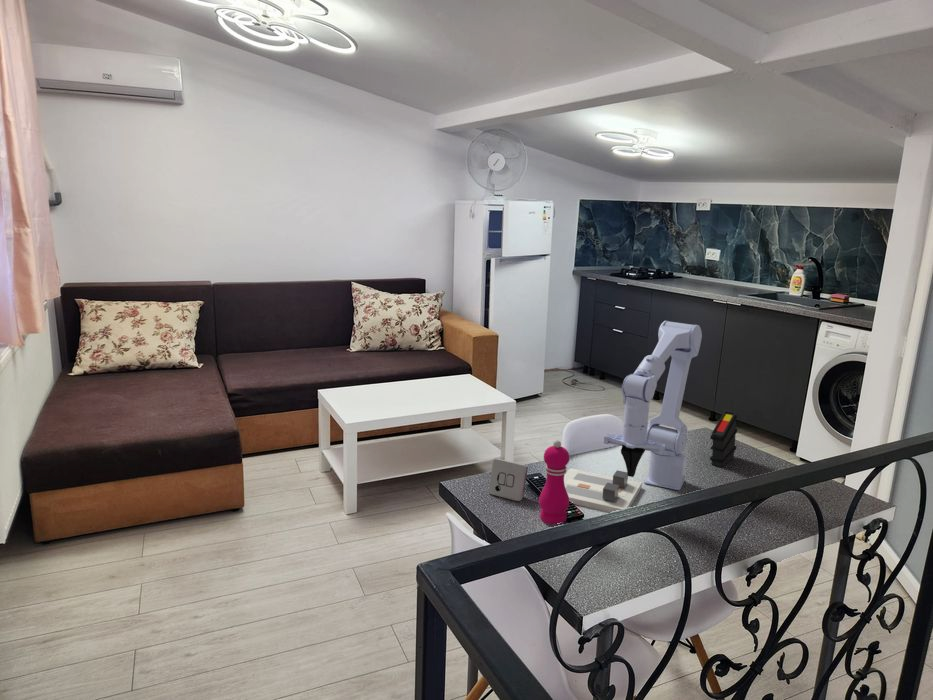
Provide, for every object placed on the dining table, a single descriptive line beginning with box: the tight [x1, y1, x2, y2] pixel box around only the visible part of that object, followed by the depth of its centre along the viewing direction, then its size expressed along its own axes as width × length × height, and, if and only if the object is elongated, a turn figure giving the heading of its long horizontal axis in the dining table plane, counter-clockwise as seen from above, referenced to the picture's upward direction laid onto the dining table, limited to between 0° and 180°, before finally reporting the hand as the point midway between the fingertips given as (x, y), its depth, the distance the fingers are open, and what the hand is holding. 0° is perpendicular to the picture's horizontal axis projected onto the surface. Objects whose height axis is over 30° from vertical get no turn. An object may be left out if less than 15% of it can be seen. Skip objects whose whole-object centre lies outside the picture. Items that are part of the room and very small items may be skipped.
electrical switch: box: [488, 458, 528, 502], centre depth 171 cm, size 9×5×9 cm, turn 60°
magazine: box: [709, 410, 738, 468], centre depth 195 cm, size 4×13×15 cm, turn 140°
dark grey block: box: [612, 469, 629, 488], centre depth 174 cm, size 3×4×3 cm
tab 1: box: [602, 483, 619, 501], centre depth 166 cm, size 3×4×3 cm
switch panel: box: [564, 467, 643, 513], centre depth 173 cm, size 20×18×2 cm
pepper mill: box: [538, 440, 570, 525], centre depth 157 cm, size 7×7×20 cm
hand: (631, 475), depth 164 cm, fingers closed
